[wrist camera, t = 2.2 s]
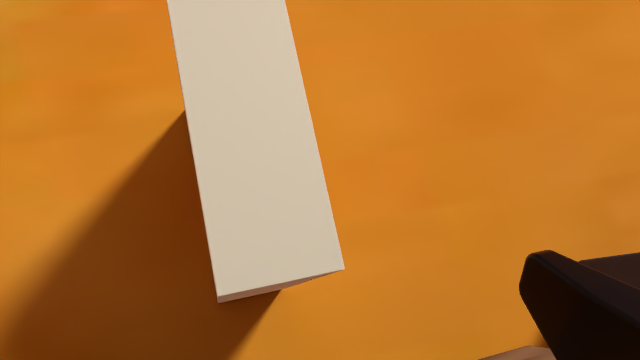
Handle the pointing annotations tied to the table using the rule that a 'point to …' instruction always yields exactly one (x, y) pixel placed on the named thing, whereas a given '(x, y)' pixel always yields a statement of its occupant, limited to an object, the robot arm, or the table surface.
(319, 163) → the notched plate
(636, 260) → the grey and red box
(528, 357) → the slotted beam
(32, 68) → the table surface
